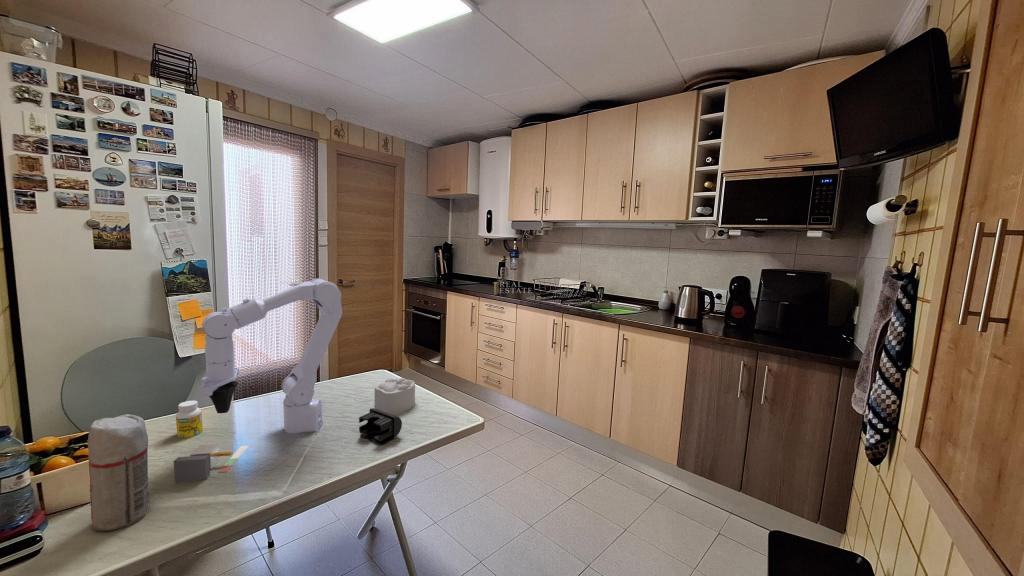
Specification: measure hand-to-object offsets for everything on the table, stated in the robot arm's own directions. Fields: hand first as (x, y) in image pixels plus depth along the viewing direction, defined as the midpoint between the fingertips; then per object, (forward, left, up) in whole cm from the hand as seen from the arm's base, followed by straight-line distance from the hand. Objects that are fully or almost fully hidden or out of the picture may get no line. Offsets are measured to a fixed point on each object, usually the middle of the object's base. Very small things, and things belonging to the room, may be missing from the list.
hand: (223, 412), depth 99 cm
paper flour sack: (+7, +24, -11) cm, 27 cm away
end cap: (-38, -2, -11) cm, 39 cm away
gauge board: (0, +7, -10) cm, 12 cm away
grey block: (-2, +9, -9) cm, 13 cm away
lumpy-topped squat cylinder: (-41, -22, -11) cm, 48 cm away
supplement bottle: (+12, -8, -11) cm, 18 cm away
